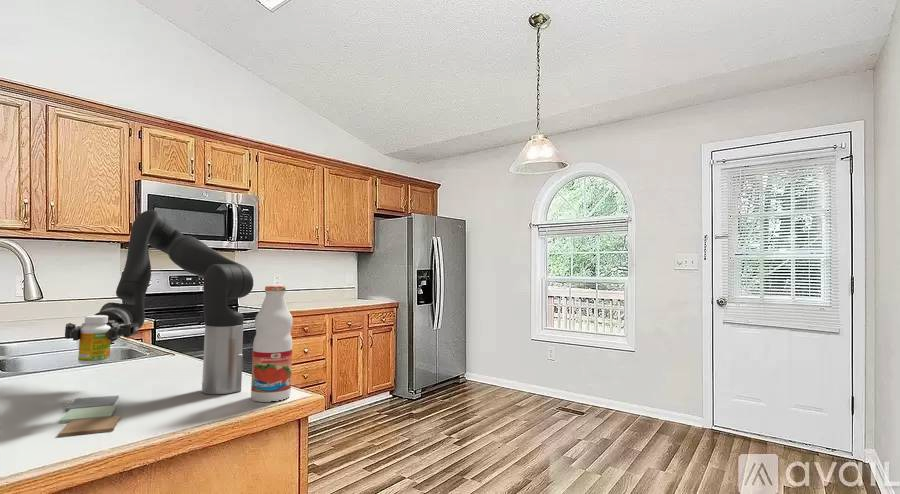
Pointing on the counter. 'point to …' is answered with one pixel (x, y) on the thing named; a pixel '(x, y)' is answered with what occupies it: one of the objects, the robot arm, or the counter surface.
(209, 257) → the robot arm
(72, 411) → the sage pad
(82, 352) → the supplement bottle
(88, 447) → the counter surface
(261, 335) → the fruit juice
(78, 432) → the walnut pad
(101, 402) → the slate pad
